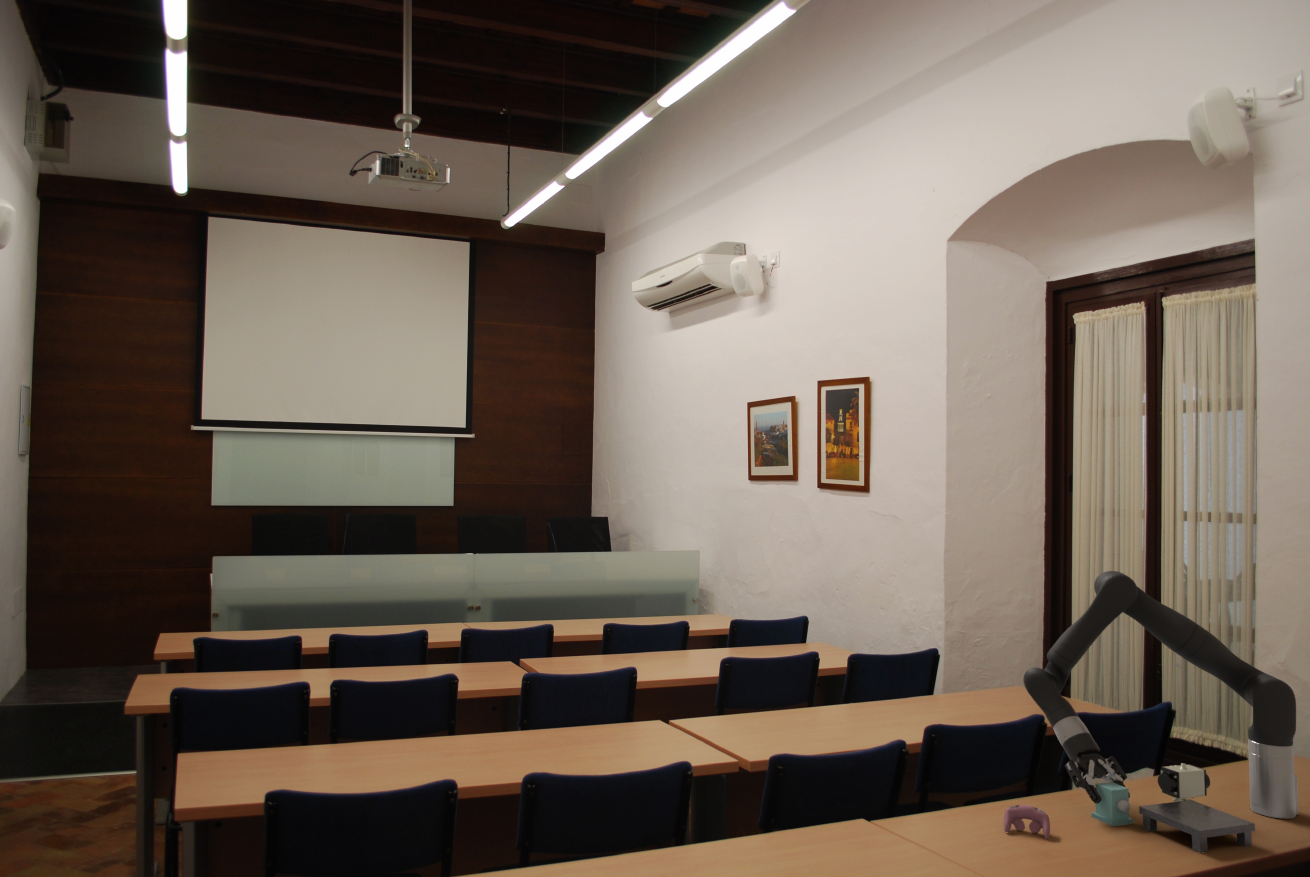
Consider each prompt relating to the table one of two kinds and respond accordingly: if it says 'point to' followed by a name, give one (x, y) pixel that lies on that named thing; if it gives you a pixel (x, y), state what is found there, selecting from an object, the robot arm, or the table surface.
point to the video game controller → (1027, 812)
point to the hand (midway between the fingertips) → (1113, 800)
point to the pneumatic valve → (1183, 782)
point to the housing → (1112, 804)
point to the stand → (1197, 822)
